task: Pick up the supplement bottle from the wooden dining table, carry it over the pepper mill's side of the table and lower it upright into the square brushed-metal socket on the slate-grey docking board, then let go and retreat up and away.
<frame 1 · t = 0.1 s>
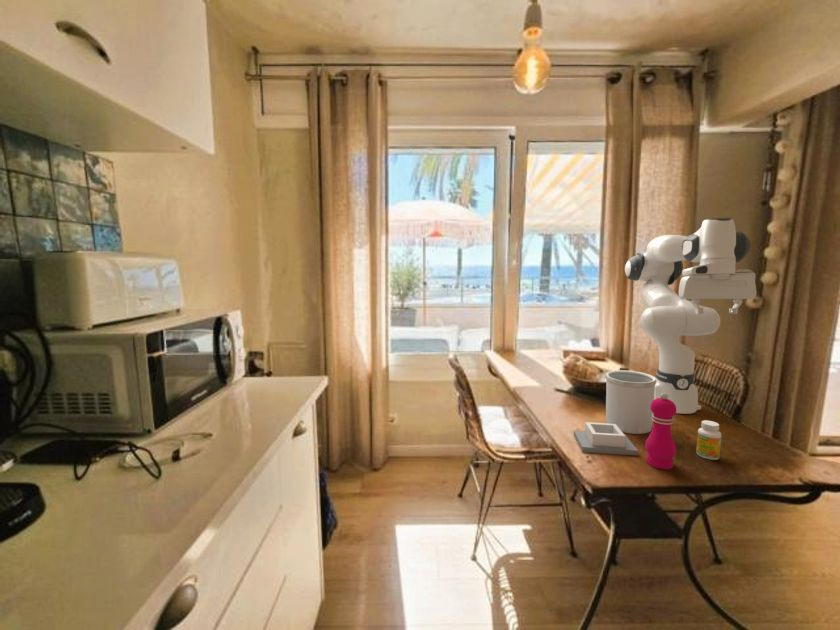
hand: (716, 313, 121), 39 cm above the table, tool pointing down, fingers open, 8 cm apart
pepper mill: (659, 464, 106), on the table
utensil holder: (627, 426, 132), on the table
docking board: (603, 444, 118), on the table
supplement bottle: (707, 456, 111), on the table
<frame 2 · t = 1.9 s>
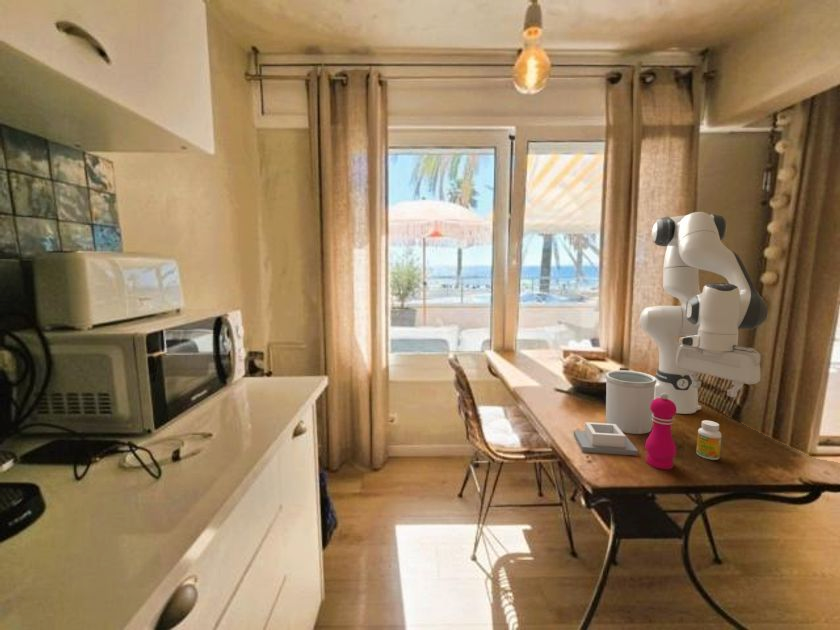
hand: (713, 391, 108), 19 cm above the table, tool pointing down, fingers open, 8 cm apart
nothing on the table moved.
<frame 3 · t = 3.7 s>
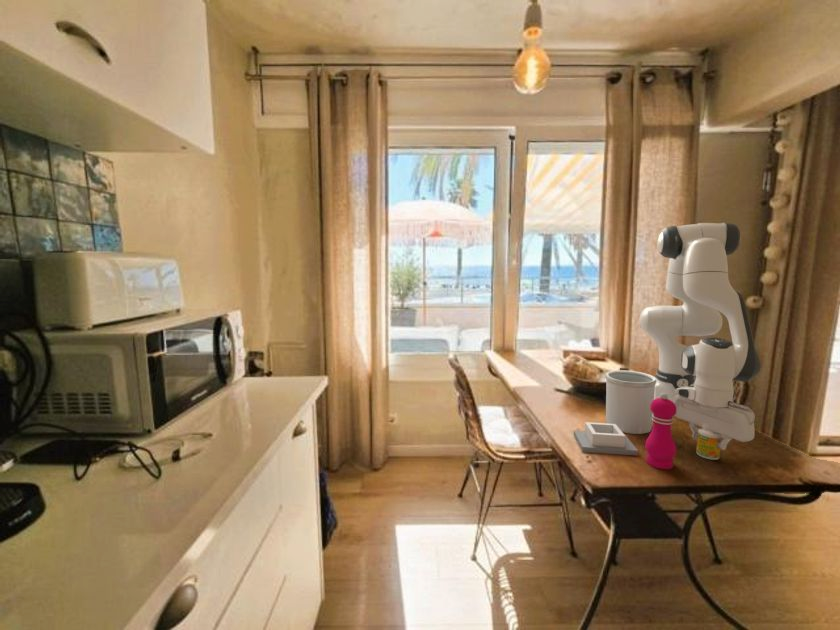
hand: (708, 443, 110), 4 cm above the table, tool pointing down, fingers closed on supplement bottle, 5 cm apart
supplement bottle: (707, 456, 111), on the table, touching gripper
everything else where it was.
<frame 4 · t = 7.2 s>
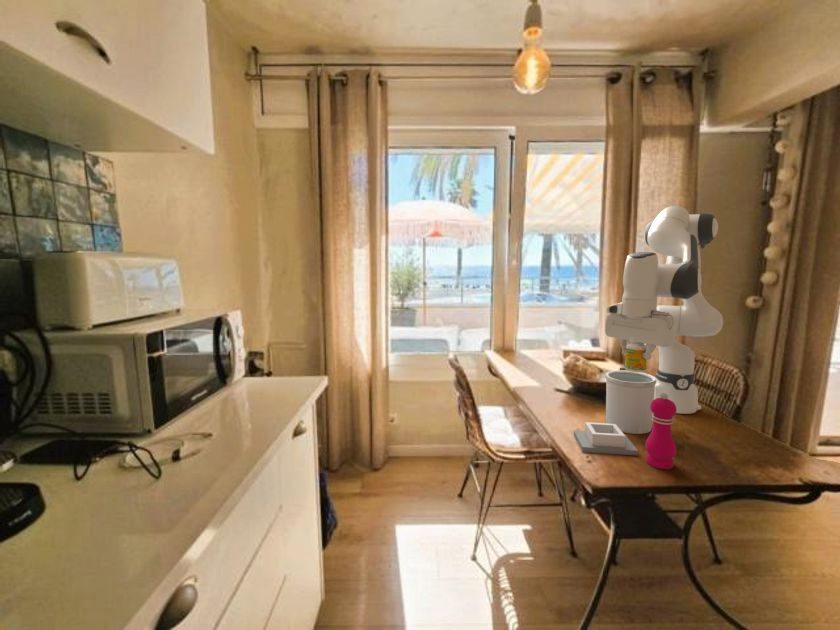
hand: (635, 356, 113), 28 cm above the table, tool pointing down, fingers closed on supplement bottle, 5 cm apart
supplement bottle: (635, 370, 113), point 24 cm above the table, touching gripper
everything else where it was.
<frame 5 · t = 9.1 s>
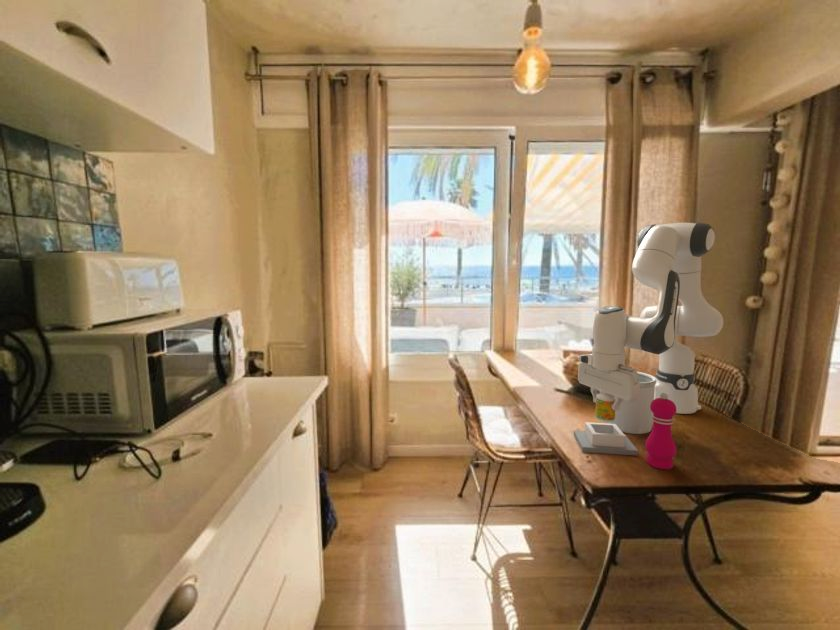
hand: (605, 406, 117), 12 cm above the table, tool pointing down, fingers closed on supplement bottle, 5 cm apart
supplement bottle: (604, 419, 117), point 8 cm above the table, touching gripper
everything else where it was.
when the fingers open (6 cm above the table, at t = 10.8 s): supplement bottle moves 1 cm, resting on docking board.
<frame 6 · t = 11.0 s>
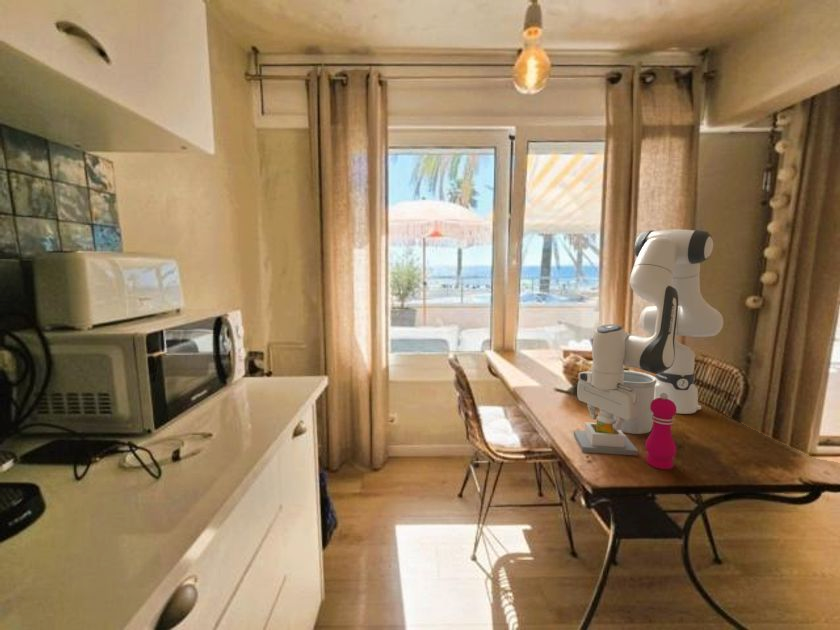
hand: (604, 423, 118), 7 cm above the table, tool pointing down, fingers open, 7 cm apart
supplement bottle: (605, 441, 118), point 1 cm above the table, touching docking board
everything else where it was.
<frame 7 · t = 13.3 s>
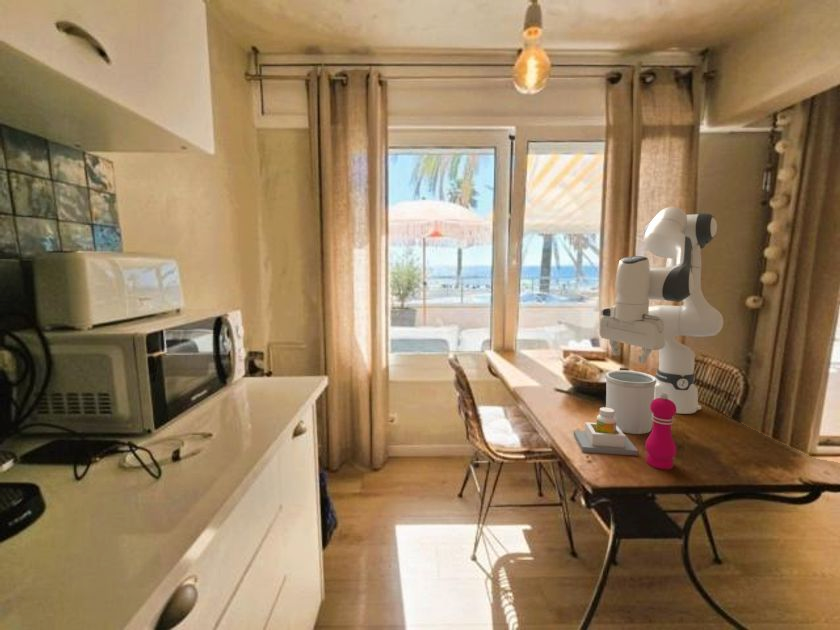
hand: (628, 358, 116), 27 cm above the table, tool pointing down, fingers open, 8 cm apart
nothing on the table moved.
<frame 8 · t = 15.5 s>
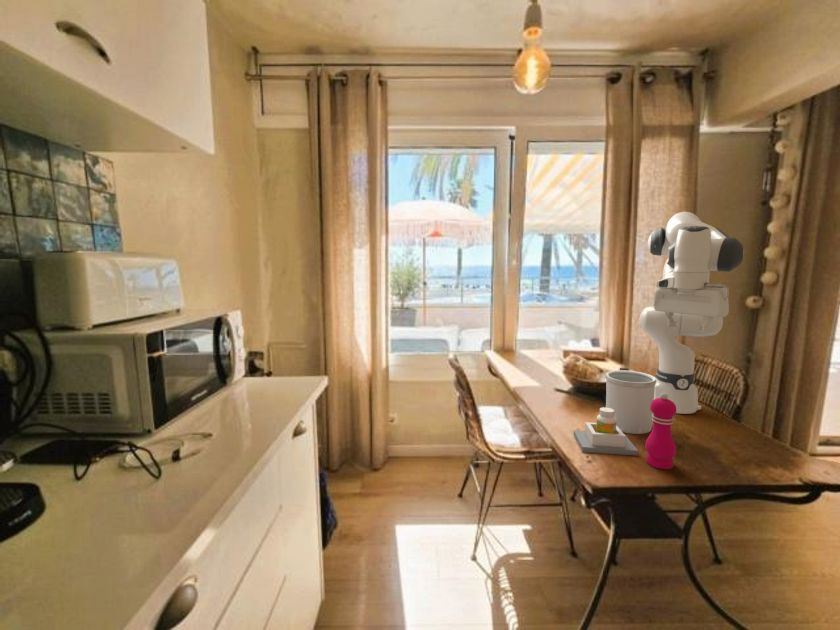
hand: (686, 329, 115), 35 cm above the table, tool pointing down, fingers open, 8 cm apart
nothing on the table moved.
at the end: supplement bottle 0.6 cm off-centre on the docking board, point 1.3 cm above the docking board's base; supplement bottle tilted 0°; the gripper is holding nothing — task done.
